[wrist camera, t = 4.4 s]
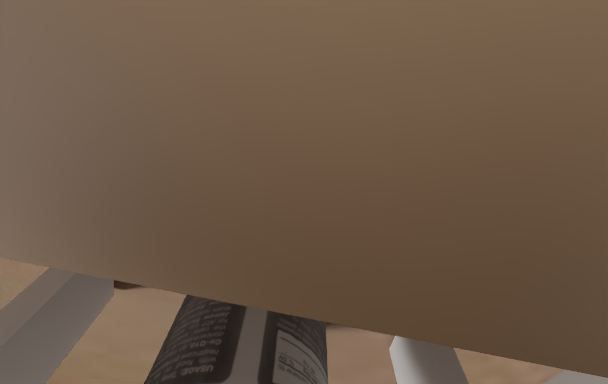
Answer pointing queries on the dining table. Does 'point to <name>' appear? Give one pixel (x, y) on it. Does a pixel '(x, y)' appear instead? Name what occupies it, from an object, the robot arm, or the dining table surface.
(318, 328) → the pill bottle
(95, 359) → the dining table surface
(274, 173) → the small wooden bench
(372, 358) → the dining table surface
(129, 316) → the dining table surface
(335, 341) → the dining table surface
